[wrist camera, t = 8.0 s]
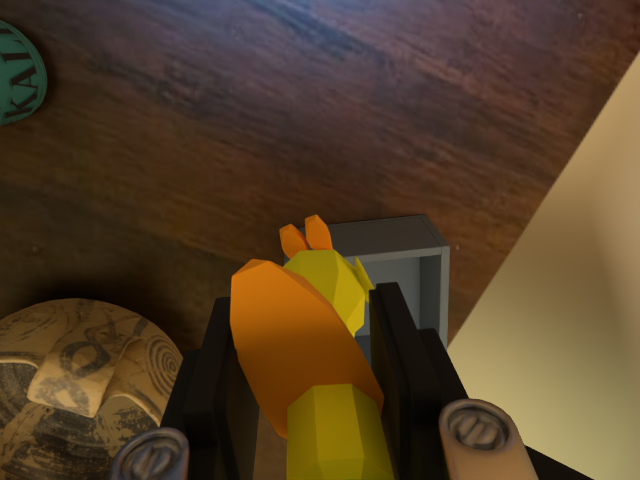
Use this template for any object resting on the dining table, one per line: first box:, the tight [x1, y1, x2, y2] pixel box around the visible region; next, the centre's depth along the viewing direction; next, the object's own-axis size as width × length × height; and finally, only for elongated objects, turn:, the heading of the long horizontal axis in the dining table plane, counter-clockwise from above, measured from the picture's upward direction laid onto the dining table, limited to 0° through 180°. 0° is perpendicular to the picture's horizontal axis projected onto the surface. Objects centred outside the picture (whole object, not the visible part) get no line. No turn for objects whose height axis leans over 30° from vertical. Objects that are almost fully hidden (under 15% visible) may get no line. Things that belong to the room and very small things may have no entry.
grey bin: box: [284, 214, 450, 368], centre depth 35 cm, size 11×11×6 cm
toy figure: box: [230, 215, 394, 480], centre depth 12 cm, size 7×4×12 cm, turn 23°
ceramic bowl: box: [0, 298, 183, 480], centre depth 32 cm, size 22×17×15 cm
